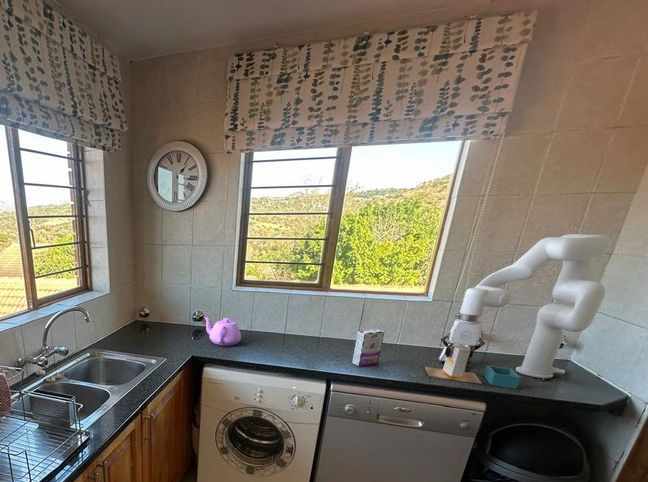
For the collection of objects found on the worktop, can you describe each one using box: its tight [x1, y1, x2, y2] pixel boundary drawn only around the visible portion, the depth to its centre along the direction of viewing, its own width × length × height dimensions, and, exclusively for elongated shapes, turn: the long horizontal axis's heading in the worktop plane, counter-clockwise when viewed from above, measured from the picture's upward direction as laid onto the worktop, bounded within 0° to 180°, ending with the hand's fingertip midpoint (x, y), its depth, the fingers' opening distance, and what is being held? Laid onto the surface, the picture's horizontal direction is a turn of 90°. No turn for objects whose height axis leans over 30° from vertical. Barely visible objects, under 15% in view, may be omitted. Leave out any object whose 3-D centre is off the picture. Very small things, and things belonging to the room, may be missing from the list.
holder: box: [483, 365, 521, 389], centre depth 171 cm, size 9×12×5 cm
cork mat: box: [424, 366, 483, 385], centre depth 179 cm, size 19×13×1 cm
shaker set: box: [438, 345, 470, 363], centre depth 193 cm, size 12×4×11 cm, turn 74°
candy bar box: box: [351, 328, 385, 367], centre depth 190 cm, size 11×5×16 cm, turn 105°
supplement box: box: [442, 344, 471, 378], centre depth 177 cm, size 8×5×13 cm, turn 167°
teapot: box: [203, 316, 242, 347], centre depth 222 cm, size 22×22×14 cm
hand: (457, 357), depth 176 cm, fingers open, 6 cm apart
